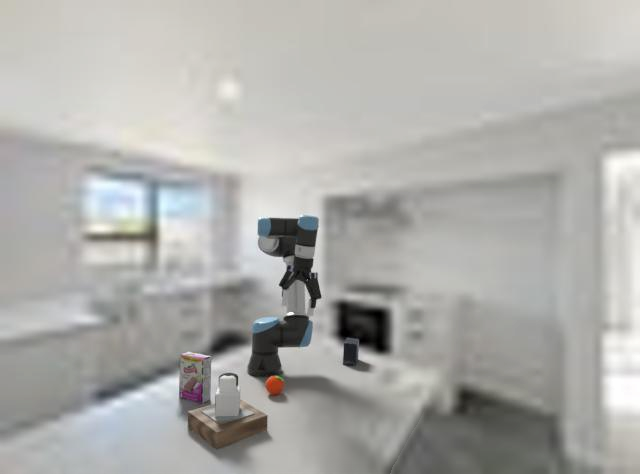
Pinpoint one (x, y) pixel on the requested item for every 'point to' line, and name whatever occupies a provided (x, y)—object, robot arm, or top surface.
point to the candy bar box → (195, 377)
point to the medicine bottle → (227, 396)
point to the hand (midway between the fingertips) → (296, 310)
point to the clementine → (274, 385)
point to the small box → (350, 351)
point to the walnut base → (227, 424)
